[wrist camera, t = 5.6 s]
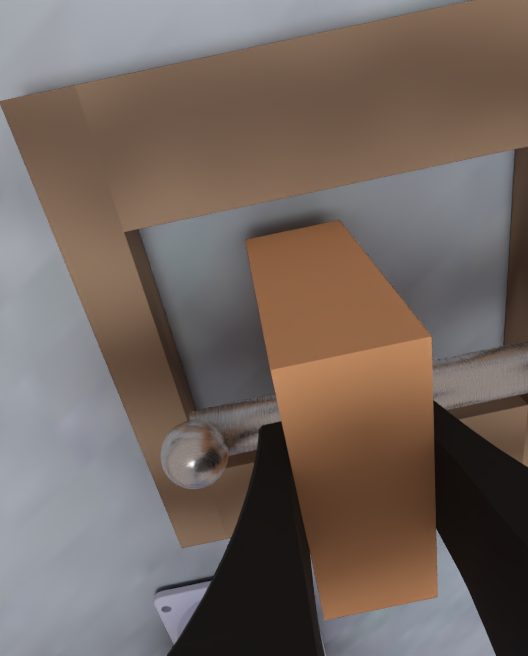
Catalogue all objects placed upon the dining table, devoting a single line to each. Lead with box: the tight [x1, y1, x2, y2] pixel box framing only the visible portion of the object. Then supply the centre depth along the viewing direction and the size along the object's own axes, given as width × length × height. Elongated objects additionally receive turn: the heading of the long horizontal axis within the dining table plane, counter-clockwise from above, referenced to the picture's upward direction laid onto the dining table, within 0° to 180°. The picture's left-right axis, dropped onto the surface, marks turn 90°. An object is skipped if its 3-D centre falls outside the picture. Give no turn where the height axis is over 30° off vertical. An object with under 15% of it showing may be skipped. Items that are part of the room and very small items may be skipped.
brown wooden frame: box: [0, 0, 528, 548], centre depth 18 cm, size 18×22×2 cm
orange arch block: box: [245, 220, 438, 620], centre depth 14 cm, size 8×3×7 cm, turn 11°
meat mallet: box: [161, 341, 528, 489], centre depth 15 cm, size 4×17×8 cm, turn 101°
